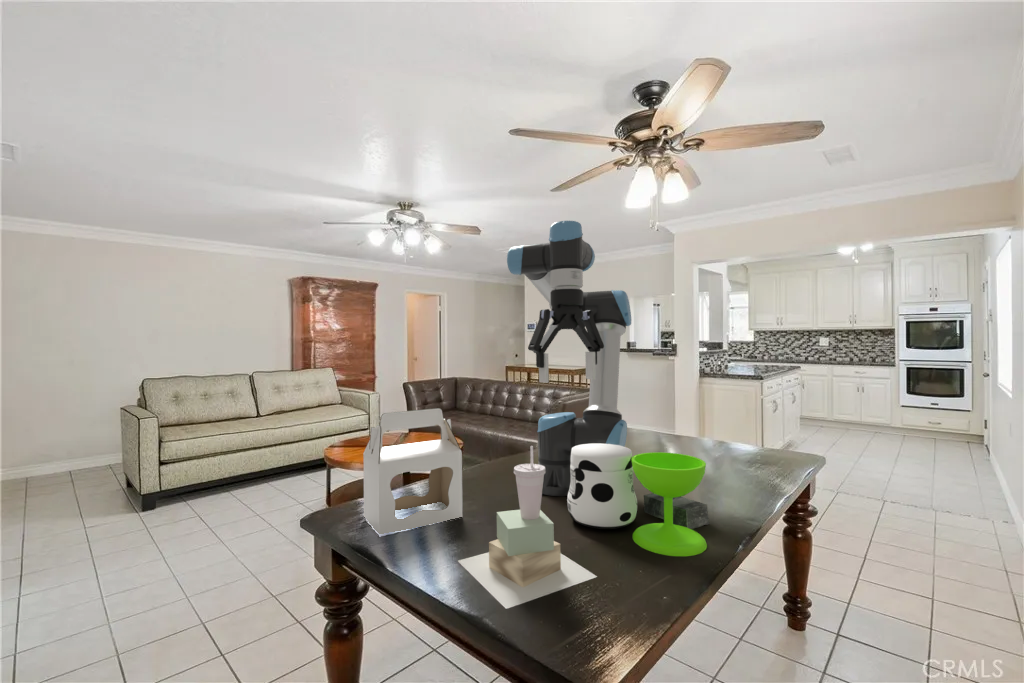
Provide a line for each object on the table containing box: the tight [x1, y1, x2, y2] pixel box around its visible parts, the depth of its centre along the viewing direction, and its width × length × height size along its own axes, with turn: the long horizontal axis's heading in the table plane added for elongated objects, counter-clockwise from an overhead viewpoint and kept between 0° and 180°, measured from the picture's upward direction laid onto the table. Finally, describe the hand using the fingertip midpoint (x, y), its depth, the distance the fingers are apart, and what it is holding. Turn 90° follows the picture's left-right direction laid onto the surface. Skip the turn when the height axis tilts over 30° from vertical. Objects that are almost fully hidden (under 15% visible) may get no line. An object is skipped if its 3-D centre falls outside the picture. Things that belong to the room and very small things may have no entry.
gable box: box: [362, 407, 463, 534], centre depth 117 cm, size 22×13×28 cm, turn 123°
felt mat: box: [457, 551, 598, 610], centre depth 89 cm, size 20×20×1 cm
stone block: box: [643, 492, 710, 530], centre depth 116 cm, size 9×14×5 cm, turn 27°
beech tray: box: [488, 538, 562, 587], centre depth 89 cm, size 10×10×5 cm
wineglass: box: [632, 451, 708, 557], centre depth 103 cm, size 16×16×18 cm
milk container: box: [566, 443, 638, 530], centre depth 114 cm, size 17×17×18 cm
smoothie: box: [513, 445, 546, 520], centre depth 90 cm, size 6×6×14 cm
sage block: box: [496, 509, 555, 556], centre depth 89 cm, size 9×9×5 cm
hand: (568, 380), depth 105 cm, fingers open, 13 cm apart
